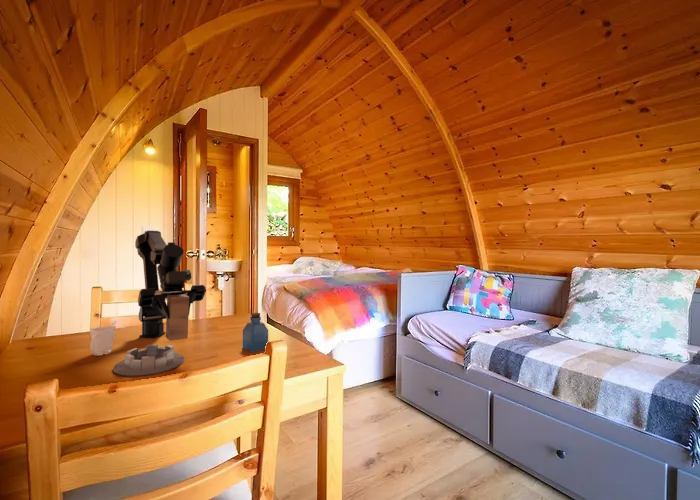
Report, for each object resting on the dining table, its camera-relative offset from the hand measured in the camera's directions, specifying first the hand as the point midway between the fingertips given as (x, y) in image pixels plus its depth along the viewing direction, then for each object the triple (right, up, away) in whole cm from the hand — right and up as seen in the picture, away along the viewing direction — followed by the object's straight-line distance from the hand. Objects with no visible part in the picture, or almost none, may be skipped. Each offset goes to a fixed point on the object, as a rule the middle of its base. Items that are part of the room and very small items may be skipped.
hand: (178, 317), depth 102 cm
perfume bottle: (+20, -14, +14) cm, 28 cm away
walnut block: (-1, -7, +1) cm, 7 cm away
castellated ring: (-7, -13, -3) cm, 15 cm away
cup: (-27, -13, +5) cm, 31 cm away
